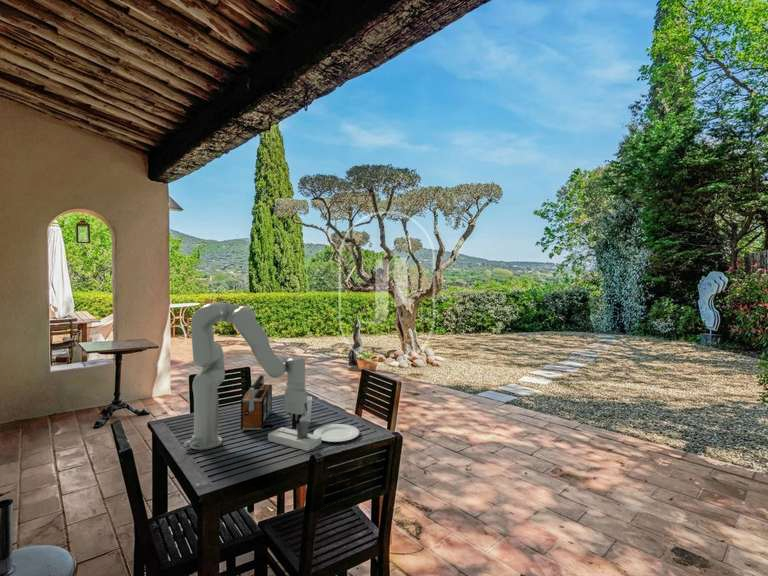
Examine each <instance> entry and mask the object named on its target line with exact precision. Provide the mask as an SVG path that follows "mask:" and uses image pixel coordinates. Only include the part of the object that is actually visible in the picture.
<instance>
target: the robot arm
mask: <svg viewBox="0 0 768 576" xmlns="http://www.w3.org/2000/svg"><path fill="white" fill-rule="evenodd" d="M220 322H224V323H231V324H232V325H233V326H234V328H235V329H236V331H237V332H238V333H239V335H241V337H242V339H244V340H245V342H246V343H247V345H248V346H249V348H250V350H251V352H252V354H253V355H254V357H255V359H256V361H257V362H258V364H259V365H260V367H261V368H262V369H263V370H264V372H265V373H266V374H267V375H268V376H269V377H271V378H274V379H276V378H277V379H278V378H280V377H282V376H284V375H285V373H287V377H286V378H287V381H286V382H285V385H286V386H287V388H285V392H284V396H283V411H284V412H285V413H286V414H287V415H289V416H290V420H291V429H292V430H297V429H296V424H297V423H299V422H300V418H301V417H305V416H307V413H306V412H307V410H308V400H307V396H308V391H307V389H306V359H305V357H302V356H284V355H276V353H275V352H274V351H273V349H272V347H271V345H270V342H269V337H268V334H267V332H266V331H265V329H263V327H262V326H261V324H260V323H259V321H258V320H257V319H256V313H255V311H254V310H253V308H251V307H249V306H245V305H244V306H243V305H239V304H235V303H229V302H224V301H223V302H222V301H218V302H217V301H216V302H211V303H207V304H205V305H203V306H201V307H200V308H198V309H197V310H196V311H194V312H193V315H192V316H191V320H190V331H191V347H192V359H193V363H195V365H196V366H197V367H200V368H202V369H201V371H200V372H198V373H197V374H196V375H195V376H194V377H193V381H192V383H191V384H192V387H191V388H192V392H193V435H191V438H190V439H189V440H186V441H184V442H183V444H182V445H183V447H184V448H185V447H188V446H189V448H191V449H193V450H197V451H200V450H201V451H204V450H205V451H206V450H209V449H210V450H211V449H214V448H216V447H219V446H221V444H222V443H223V438H222V437H220V436H219V423H220V421H219V412H220V411H219V407H220V405H219V404H220V403H219V402H220V401H219V393H218V392H219V391H218V387H219V386H220V385H221V384H222V383H223V381H224V380H225V378H226V377H225V375H226V372H225V371H226V369H225V357H224V349H223V348H222V346H221V345H220V344H219V343H218V342H216V341H215V336H214V335H215V333H214V329H213V325H214V324H216V323H220Z"/></svg>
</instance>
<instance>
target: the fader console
mask: <svg viewBox="0 0 768 576" xmlns="http://www.w3.org/2000/svg"><path fill="white" fill-rule="evenodd" d="M267 441H268V442H272V443H275V444H279V445H283V446H287V447H290V448H295V449H299V450H302V451H306V452H310V451H311V449H312V450H313V449H315V448H316V446H317V447H318V446H320V445H321V444H322V442H323V441H322V437H321V436H317V435H314V434H312V433H309V432H308V436H306V437H304V438H302V439H300V438H297V429H292V428H289V427H282V426H281V427H279V428H277V429H275V430H273V431H271V432H269V433H267ZM309 450H310V451H309Z"/></svg>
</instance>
